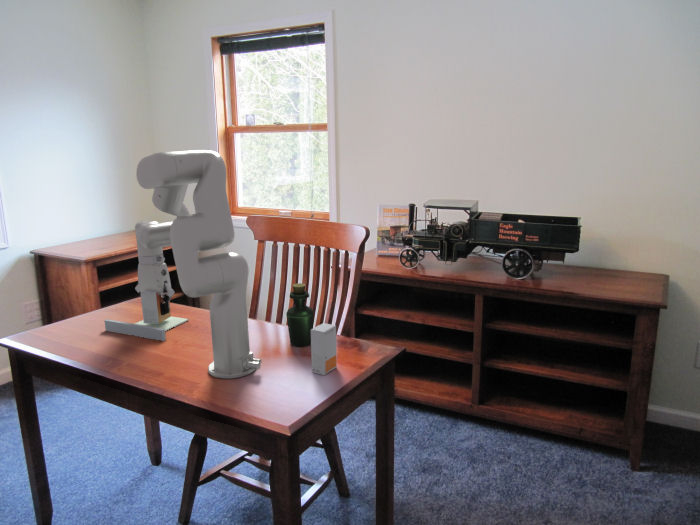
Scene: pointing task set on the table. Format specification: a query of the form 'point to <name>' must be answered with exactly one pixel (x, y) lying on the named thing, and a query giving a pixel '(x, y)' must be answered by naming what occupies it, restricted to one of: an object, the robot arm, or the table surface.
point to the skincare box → (323, 348)
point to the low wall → (135, 329)
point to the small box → (152, 308)
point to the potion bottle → (300, 317)
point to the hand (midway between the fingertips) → (156, 312)
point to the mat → (165, 323)
